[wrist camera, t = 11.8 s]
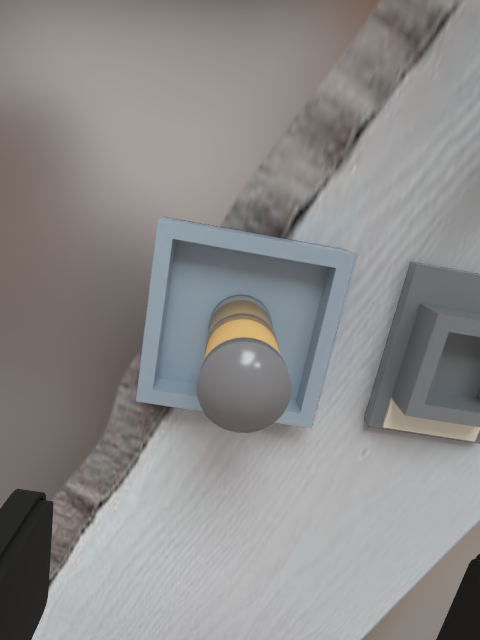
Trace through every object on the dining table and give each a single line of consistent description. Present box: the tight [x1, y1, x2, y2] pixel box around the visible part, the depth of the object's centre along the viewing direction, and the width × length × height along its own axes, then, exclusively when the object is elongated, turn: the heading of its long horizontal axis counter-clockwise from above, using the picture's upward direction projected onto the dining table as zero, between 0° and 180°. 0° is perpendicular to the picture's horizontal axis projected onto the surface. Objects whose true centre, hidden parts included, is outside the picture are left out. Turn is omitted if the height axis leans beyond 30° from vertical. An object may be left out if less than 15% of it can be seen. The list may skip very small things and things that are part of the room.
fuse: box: [197, 294, 292, 433], centre depth 23 cm, size 4×4×10 cm
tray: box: [136, 217, 356, 428], centre depth 27 cm, size 12×12×2 cm
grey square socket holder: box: [364, 262, 480, 444], centre depth 28 cm, size 12×9×4 cm
